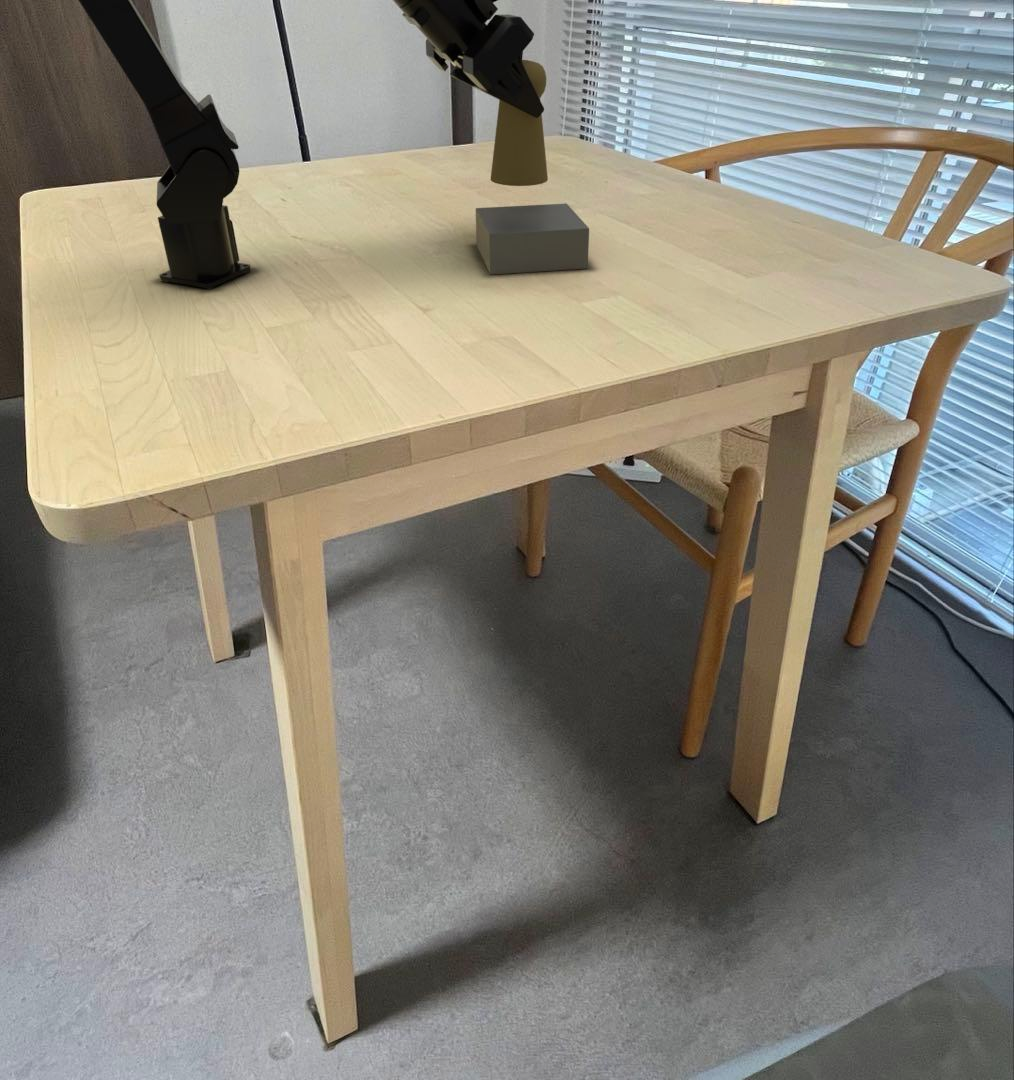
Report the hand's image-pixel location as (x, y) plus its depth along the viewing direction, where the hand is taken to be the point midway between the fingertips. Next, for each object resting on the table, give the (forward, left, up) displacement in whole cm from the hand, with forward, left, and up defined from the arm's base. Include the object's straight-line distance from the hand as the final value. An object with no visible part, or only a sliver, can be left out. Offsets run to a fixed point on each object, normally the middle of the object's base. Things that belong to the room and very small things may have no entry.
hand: (532, 109), depth 88 cm
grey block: (-5, -2, -13) cm, 14 cm away
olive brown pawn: (-1, +1, -7) cm, 7 cm away
